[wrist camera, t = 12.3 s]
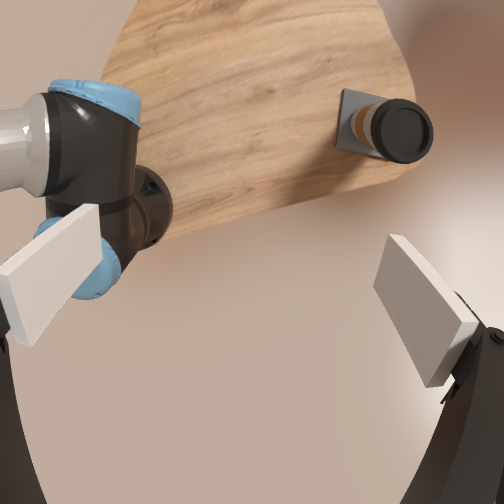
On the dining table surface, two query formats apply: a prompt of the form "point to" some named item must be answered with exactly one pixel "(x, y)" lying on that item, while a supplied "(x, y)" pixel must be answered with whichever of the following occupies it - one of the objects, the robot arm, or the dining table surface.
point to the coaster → (345, 135)
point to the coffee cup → (394, 130)
